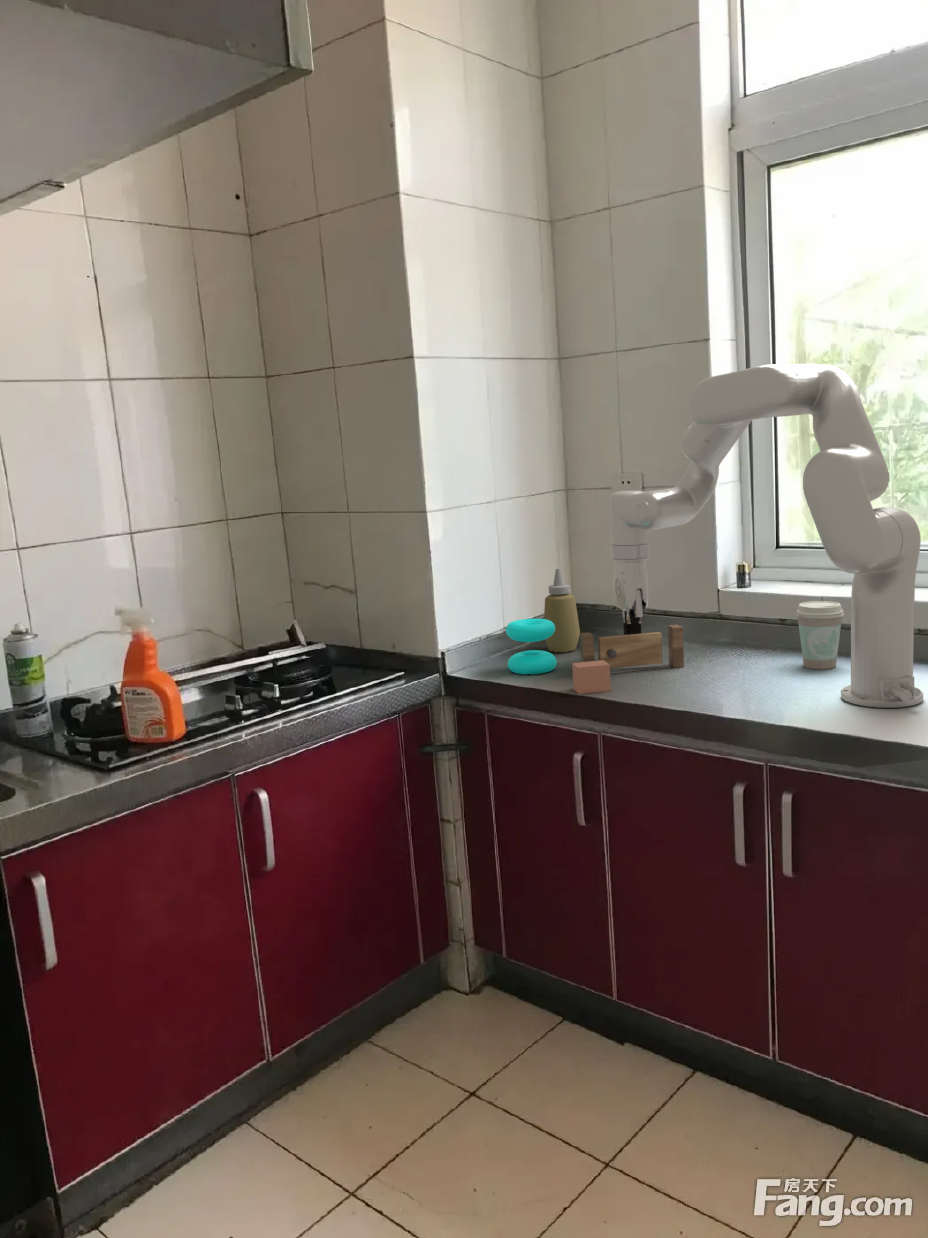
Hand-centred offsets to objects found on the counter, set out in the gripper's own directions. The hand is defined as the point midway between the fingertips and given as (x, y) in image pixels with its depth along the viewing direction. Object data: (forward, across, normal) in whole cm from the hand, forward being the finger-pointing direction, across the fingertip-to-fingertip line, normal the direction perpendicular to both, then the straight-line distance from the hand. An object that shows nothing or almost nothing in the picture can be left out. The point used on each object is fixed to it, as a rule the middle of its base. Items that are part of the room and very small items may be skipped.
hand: (632, 641), depth 203 cm
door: (+3, +8, -3) cm, 9 cm away
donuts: (+4, -1, -21) cm, 21 cm away
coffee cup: (+4, +18, +31) cm, 36 cm away
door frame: (+4, +7, -3) cm, 9 cm away
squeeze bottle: (+4, -17, -11) cm, 21 cm away
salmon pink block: (+4, +19, -14) cm, 24 cm away
